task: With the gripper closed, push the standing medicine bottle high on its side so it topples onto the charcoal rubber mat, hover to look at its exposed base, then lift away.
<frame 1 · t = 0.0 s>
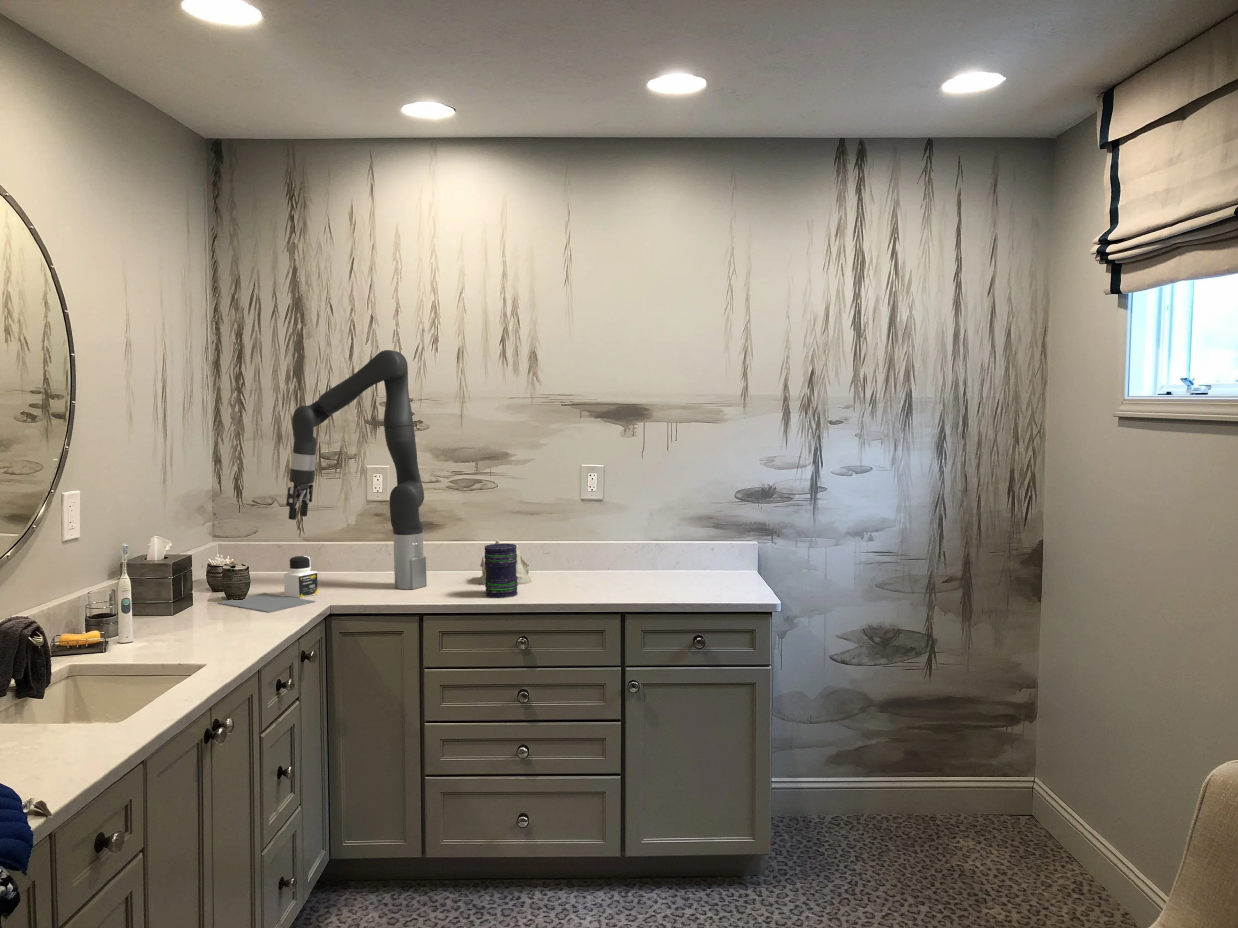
hand: (297, 517, 303), 22 cm above the countertop, tool pointing down, fingers open, 8 cm apart
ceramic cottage: (505, 582, 309), on the countertop
medicine bottle: (301, 595, 291), on the countertop
rubber mat: (266, 602, 281), on the countertop
storage jar: (501, 595, 287), on the countertop
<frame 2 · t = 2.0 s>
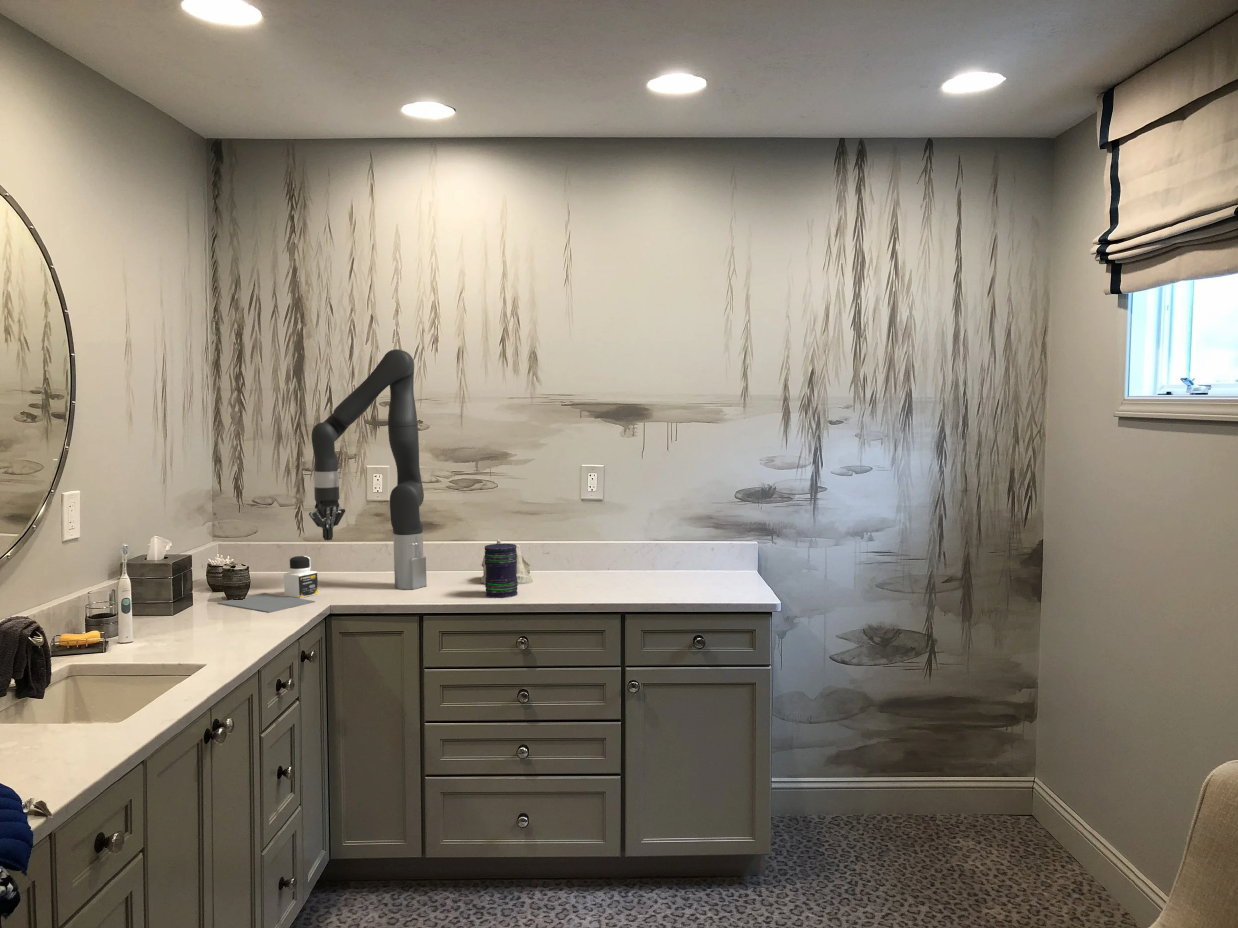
hand: (328, 539, 299), 16 cm above the countertop, tool pointing down, fingers closed
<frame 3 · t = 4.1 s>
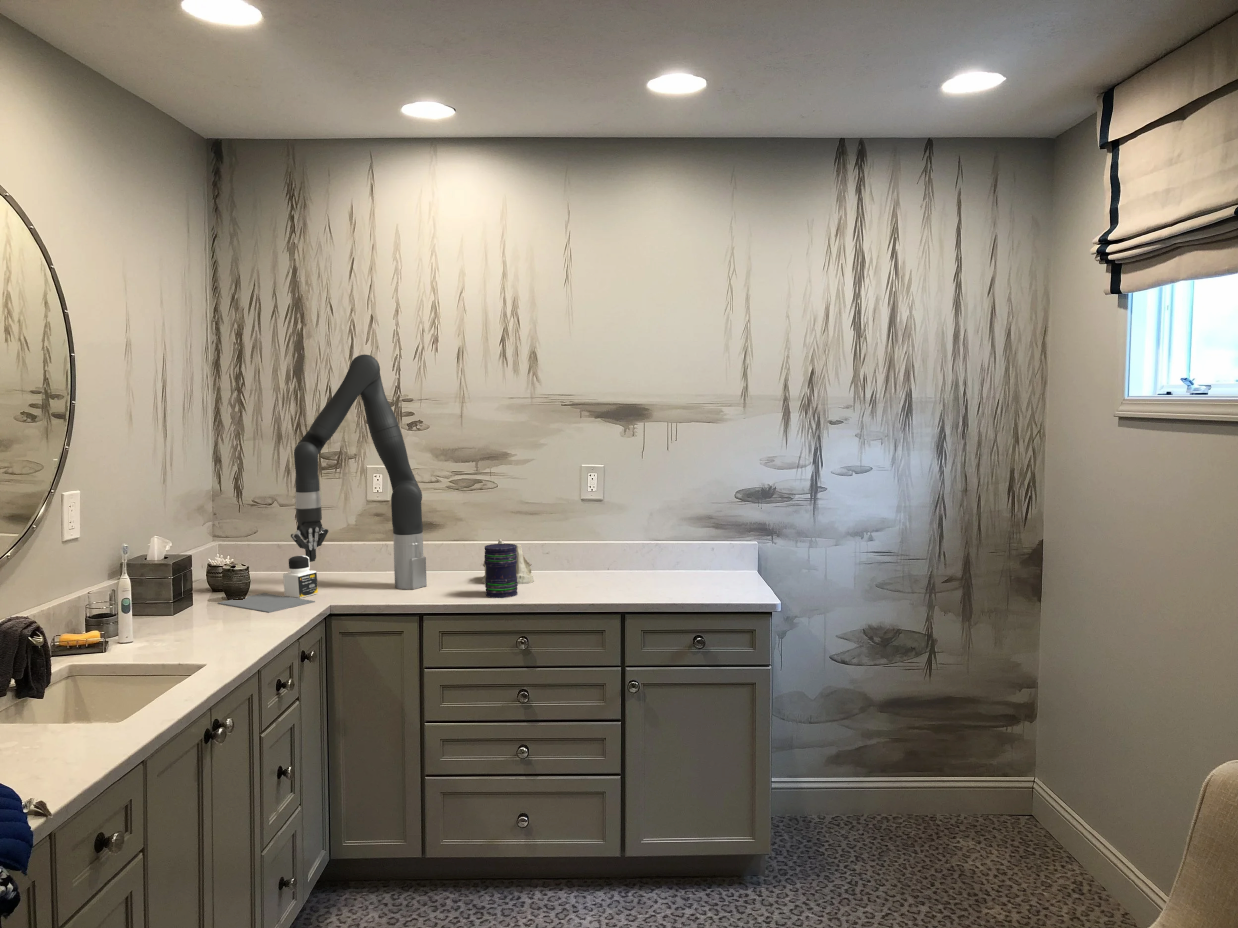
hand: (311, 561, 294), 10 cm above the countertop, tool pointing down, fingers closed
medicine bottle: (301, 595, 291), on the countertop, touching gripper
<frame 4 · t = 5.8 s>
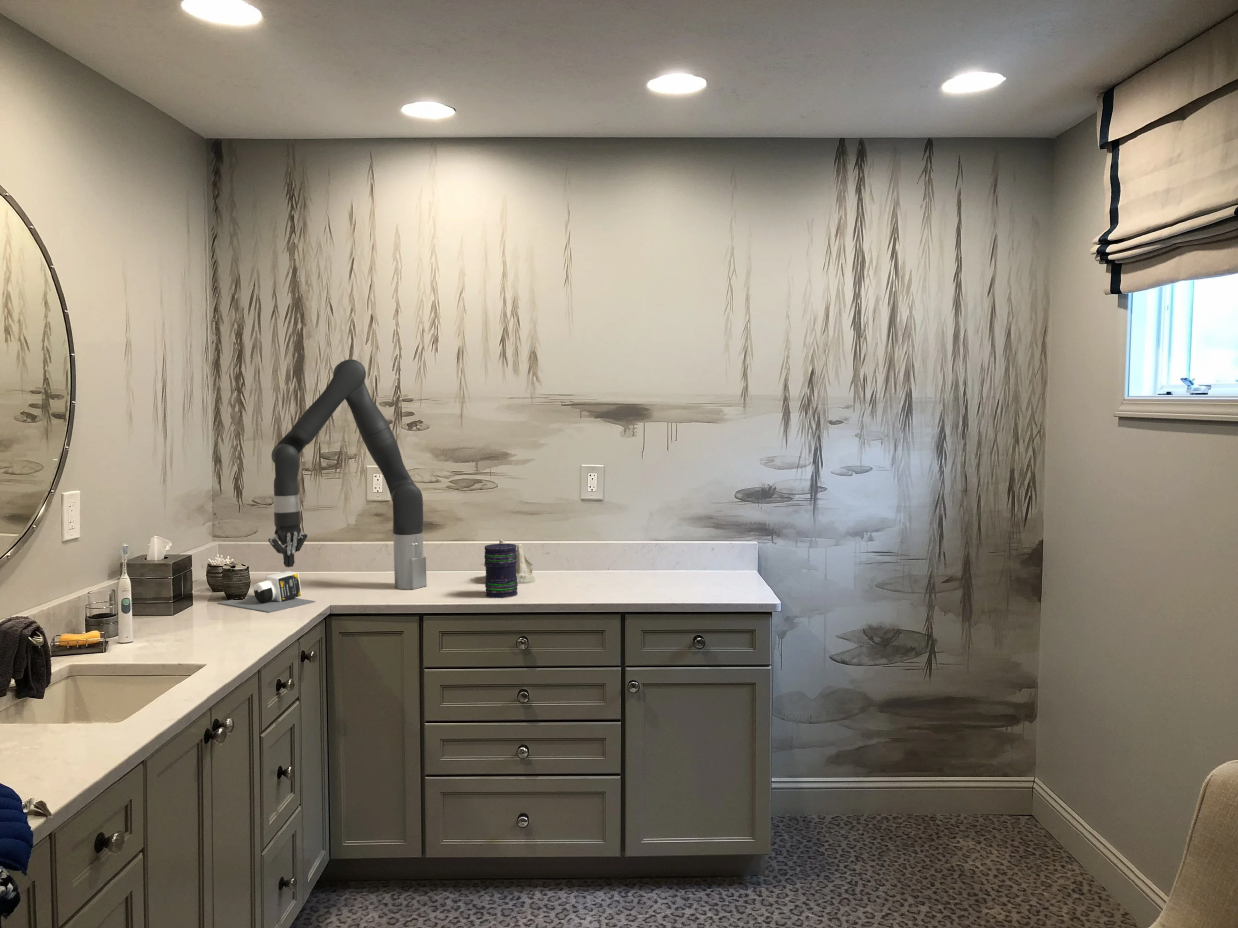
hand: (289, 566, 287), 10 cm above the countertop, tool pointing down, fingers closed
medicine bottle: (295, 582, 287), point 5 cm above the countertop, touching rubber mat
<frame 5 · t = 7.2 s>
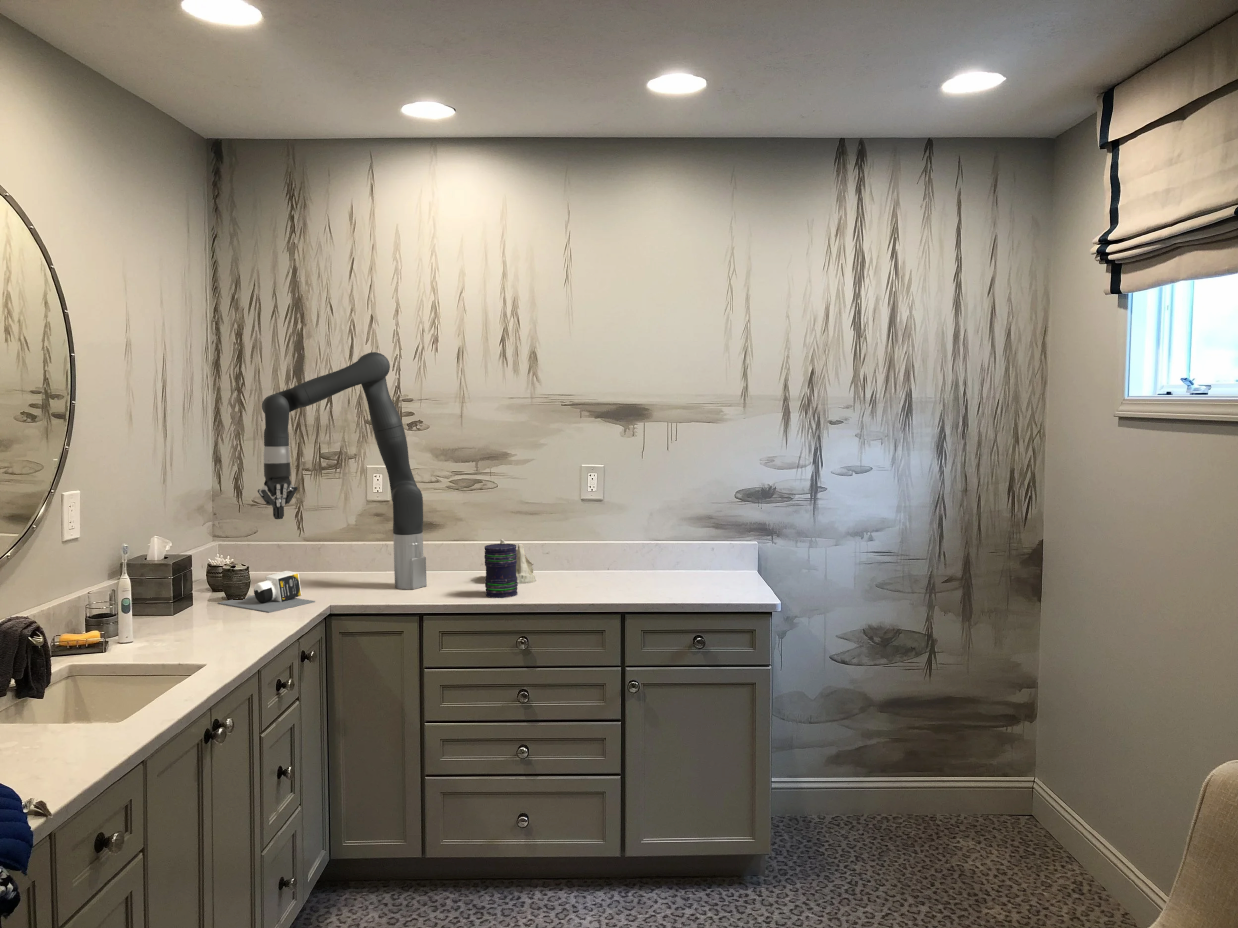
hand: (278, 518, 284), 24 cm above the countertop, tool pointing down, fingers closed
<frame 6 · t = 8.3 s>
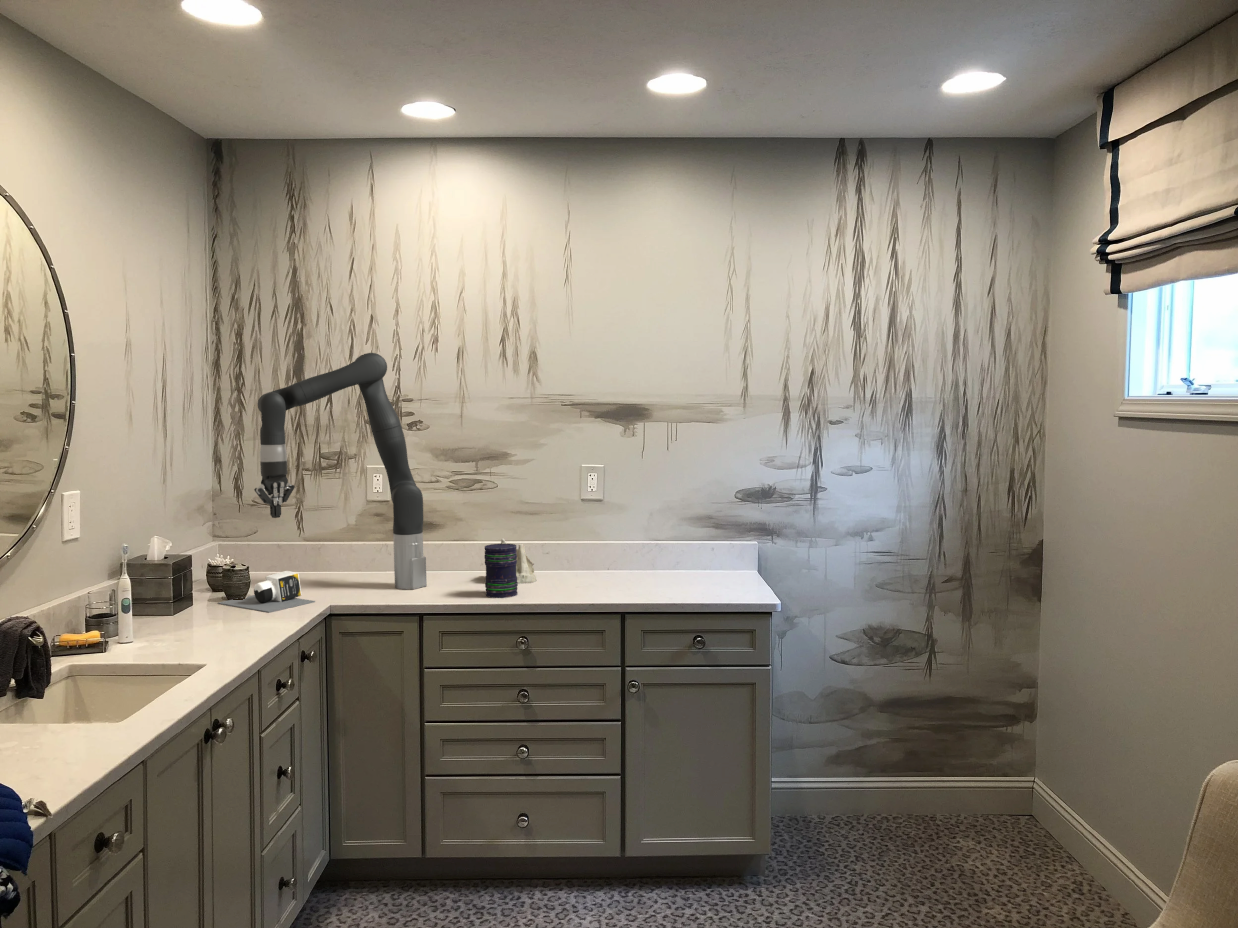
hand: (276, 517, 283), 25 cm above the countertop, tool pointing down, fingers closed
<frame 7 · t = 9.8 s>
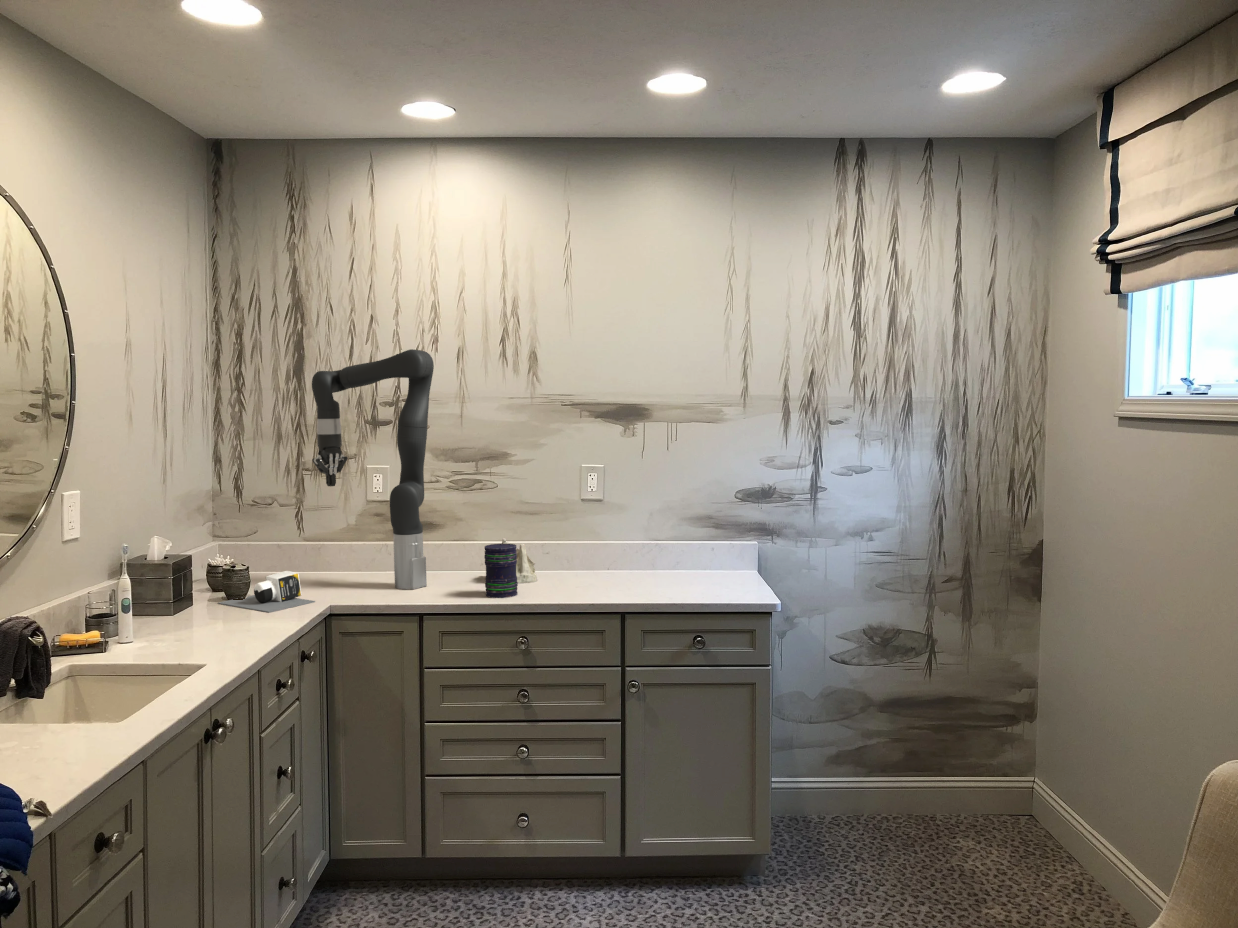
hand: (331, 486, 307), 32 cm above the countertop, tool pointing down, fingers closed
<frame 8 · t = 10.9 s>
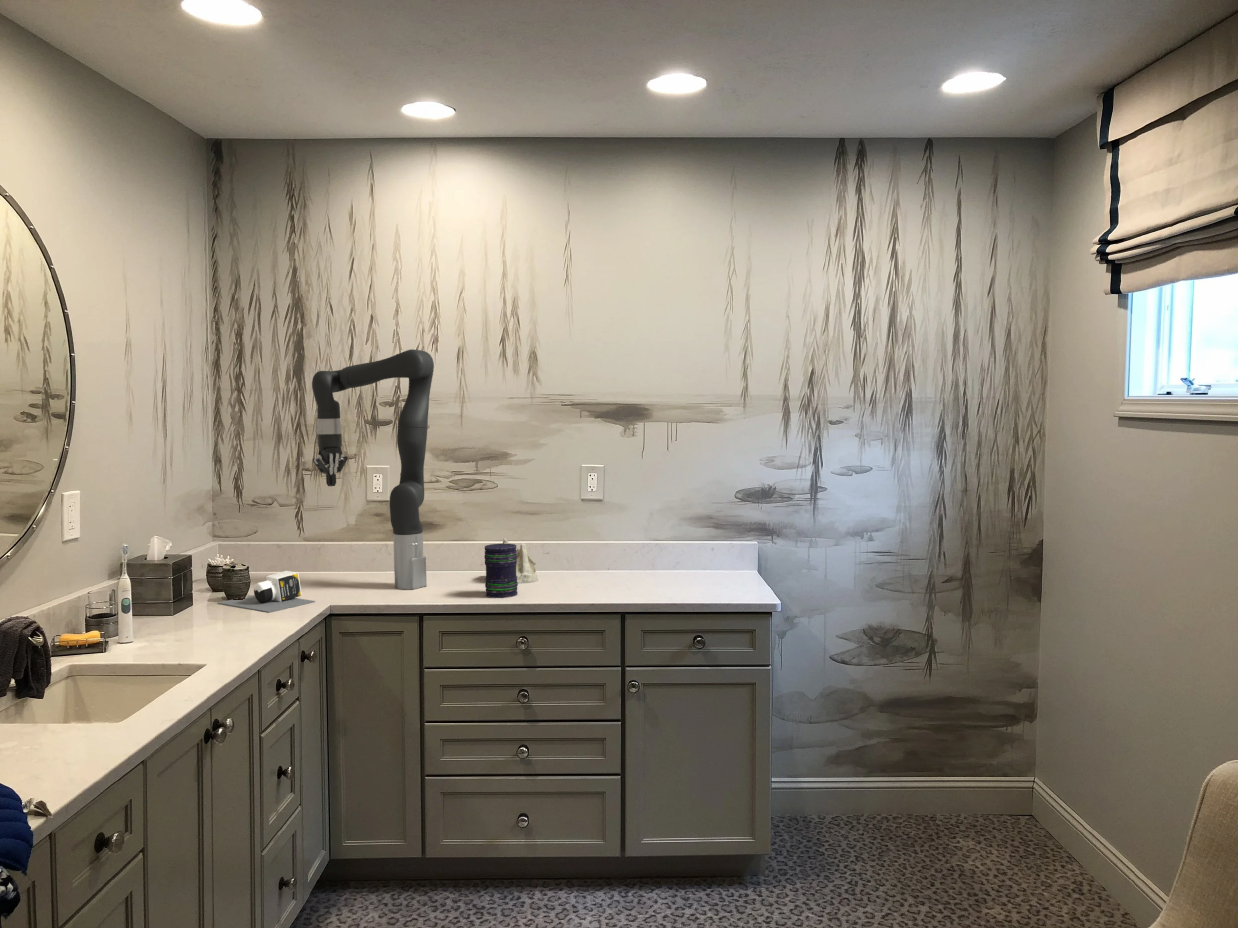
hand: (331, 485, 307), 32 cm above the countertop, tool pointing down, fingers closed
at the end: medicine bottle tilted 97°; medicine bottle touching rubber mat; medicine bottle inside the target area (5.3 cm from its centre), point 4.6 cm above the countertop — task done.
